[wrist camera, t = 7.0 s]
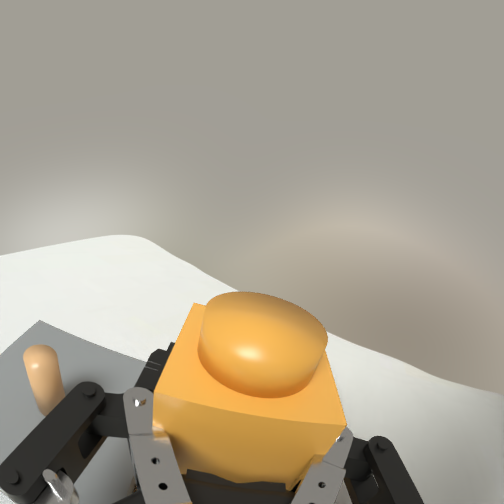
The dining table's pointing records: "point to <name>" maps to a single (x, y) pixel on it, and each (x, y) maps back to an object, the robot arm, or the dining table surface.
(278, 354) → the tall orange stud brick
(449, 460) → the dining table surface
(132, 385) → the base
